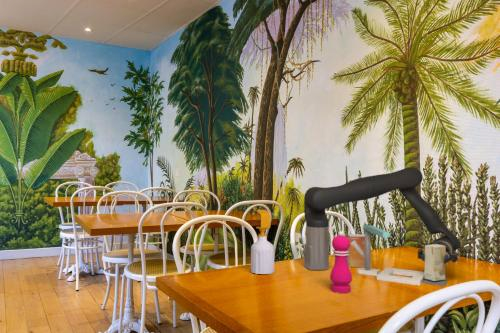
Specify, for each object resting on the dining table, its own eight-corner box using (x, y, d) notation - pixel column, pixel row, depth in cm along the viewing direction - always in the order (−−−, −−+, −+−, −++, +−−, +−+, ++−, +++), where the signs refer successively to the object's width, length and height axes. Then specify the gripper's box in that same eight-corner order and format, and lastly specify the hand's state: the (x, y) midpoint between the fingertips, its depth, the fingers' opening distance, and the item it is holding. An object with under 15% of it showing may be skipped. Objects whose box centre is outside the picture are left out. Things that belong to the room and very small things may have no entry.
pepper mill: (354, 289, 145) (354, 230, 145) (349, 295, 138) (349, 233, 138) (333, 286, 148) (333, 229, 148) (327, 292, 141) (327, 231, 141)
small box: (349, 267, 176) (349, 236, 176) (347, 264, 183) (347, 233, 183) (369, 267, 176) (369, 236, 176) (366, 264, 182) (366, 233, 182)
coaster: (423, 283, 152) (423, 281, 152) (426, 278, 158) (426, 277, 158) (444, 285, 149) (444, 284, 149) (447, 281, 155) (447, 279, 155)
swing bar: (362, 229, 168) (362, 224, 168) (370, 229, 168) (370, 224, 168) (381, 237, 147) (381, 232, 147) (390, 237, 148) (390, 232, 148)
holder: (353, 276, 162) (353, 232, 162) (365, 268, 174) (365, 227, 174) (419, 285, 149) (419, 237, 149) (427, 276, 162) (427, 232, 162)
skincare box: (434, 281, 150) (434, 247, 150) (424, 278, 154) (423, 245, 154) (446, 279, 153) (446, 245, 153) (436, 276, 157) (436, 243, 157)
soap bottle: (267, 268, 174) (267, 208, 174) (278, 273, 166) (278, 210, 166) (247, 271, 170) (247, 209, 170) (257, 276, 162) (257, 211, 162)
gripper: (421, 239, 170) (412, 246, 155) (461, 243, 162) (456, 251, 148) (421, 258, 170) (412, 267, 155) (461, 263, 162) (456, 272, 148)
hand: (434, 259), depth 152 cm, fingers closed on skincare box, 6 cm apart
